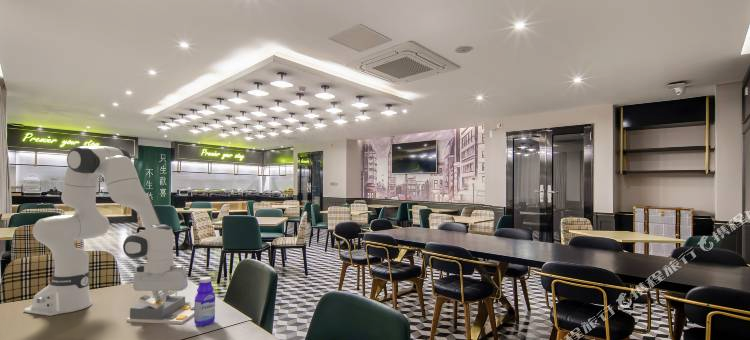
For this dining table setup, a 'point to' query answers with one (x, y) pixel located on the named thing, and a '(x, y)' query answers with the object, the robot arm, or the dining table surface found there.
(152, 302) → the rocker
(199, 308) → the bottle
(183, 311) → the switch unit
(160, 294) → the rocker
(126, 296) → the dining table surface
